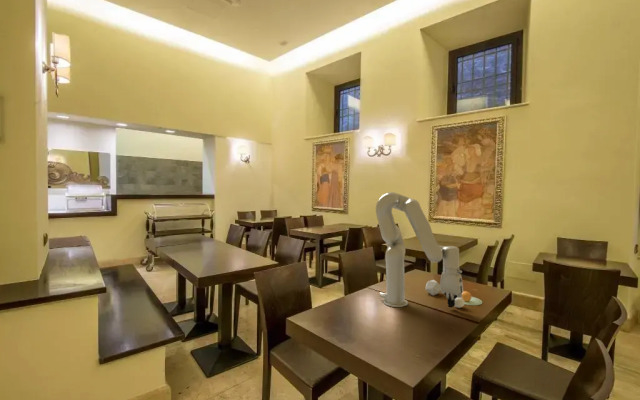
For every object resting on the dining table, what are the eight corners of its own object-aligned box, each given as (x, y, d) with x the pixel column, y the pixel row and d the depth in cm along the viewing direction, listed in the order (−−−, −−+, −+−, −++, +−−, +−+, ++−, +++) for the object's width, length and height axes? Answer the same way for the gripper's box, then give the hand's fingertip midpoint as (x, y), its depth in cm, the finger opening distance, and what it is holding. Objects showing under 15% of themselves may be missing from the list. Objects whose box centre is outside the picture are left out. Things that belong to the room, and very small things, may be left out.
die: (443, 297, 172) (444, 281, 177) (433, 292, 169) (434, 275, 175) (431, 298, 179) (432, 283, 184) (421, 293, 176) (422, 277, 181)
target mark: (451, 301, 164) (451, 301, 164) (456, 294, 175) (456, 294, 175) (480, 307, 156) (480, 306, 156) (483, 299, 167) (483, 298, 167)
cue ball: (459, 293, 158) (459, 301, 160) (450, 296, 157) (450, 304, 159) (467, 299, 153) (466, 308, 155) (458, 302, 152) (457, 311, 154)
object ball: (461, 287, 165) (465, 291, 168) (456, 296, 164) (460, 299, 168) (471, 292, 161) (474, 295, 164) (466, 301, 160) (470, 304, 163)
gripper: (469, 272, 149) (469, 308, 150) (440, 266, 161) (440, 300, 161) (462, 275, 145) (462, 313, 145) (433, 269, 156) (433, 304, 156)
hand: (451, 306), depth 153 cm, fingers closed
